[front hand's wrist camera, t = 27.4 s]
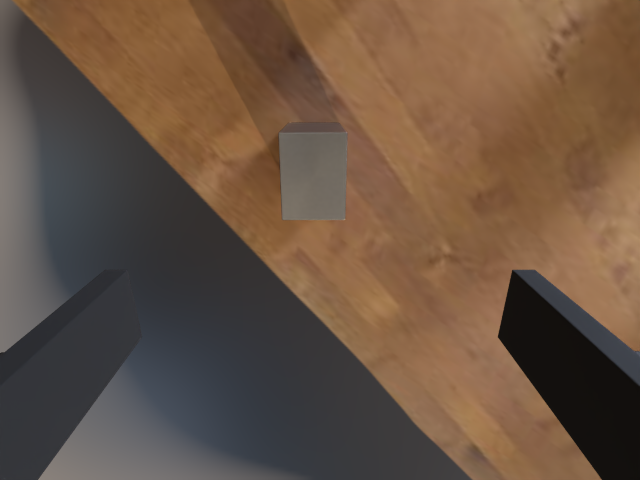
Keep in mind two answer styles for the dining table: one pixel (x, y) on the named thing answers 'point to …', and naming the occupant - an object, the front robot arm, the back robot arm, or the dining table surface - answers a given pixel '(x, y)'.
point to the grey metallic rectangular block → (313, 171)
